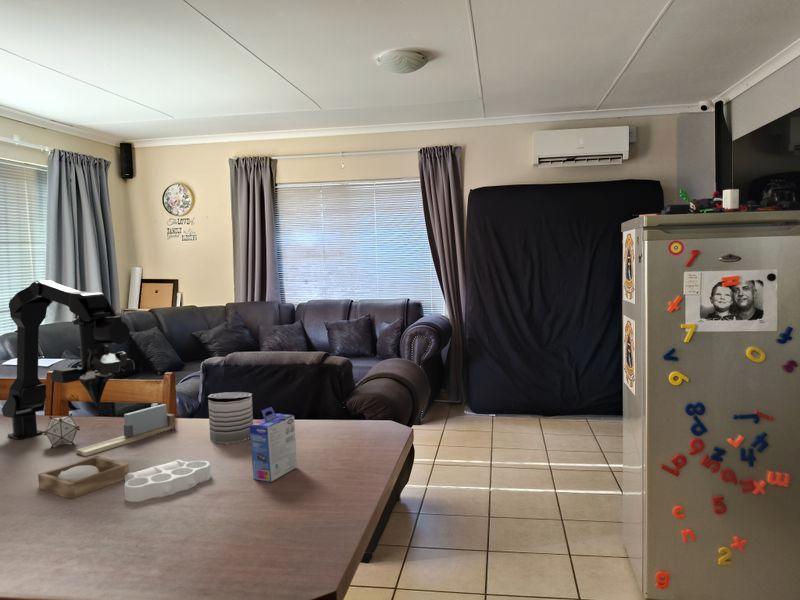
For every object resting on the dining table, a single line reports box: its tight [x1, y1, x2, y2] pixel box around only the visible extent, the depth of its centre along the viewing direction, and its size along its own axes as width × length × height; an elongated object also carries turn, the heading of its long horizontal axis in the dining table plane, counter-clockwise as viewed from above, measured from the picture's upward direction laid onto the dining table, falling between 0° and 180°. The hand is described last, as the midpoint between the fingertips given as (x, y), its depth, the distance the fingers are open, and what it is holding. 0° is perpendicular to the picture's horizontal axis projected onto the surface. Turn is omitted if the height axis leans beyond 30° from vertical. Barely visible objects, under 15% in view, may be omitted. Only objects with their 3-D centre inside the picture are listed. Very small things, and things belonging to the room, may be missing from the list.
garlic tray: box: [37, 455, 130, 500], centre depth 127 cm, size 12×13×3 cm
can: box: [207, 391, 254, 444], centre depth 157 cm, size 11×11×12 cm
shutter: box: [123, 403, 168, 437], centre depth 161 cm, size 2×12×6 cm, turn 148°
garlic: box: [58, 465, 100, 482], centre depth 126 cm, size 8×7×4 cm
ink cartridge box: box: [249, 406, 298, 483], centre depth 130 cm, size 10×6×14 cm, turn 155°
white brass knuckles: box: [123, 459, 212, 503], centre depth 125 cm, size 3×18×15 cm
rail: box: [75, 412, 176, 457], centre depth 156 cm, size 4×26×4 cm, turn 148°
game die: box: [42, 412, 81, 449], centre depth 153 cm, size 9×8×10 cm
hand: (96, 403), depth 149 cm, fingers closed
